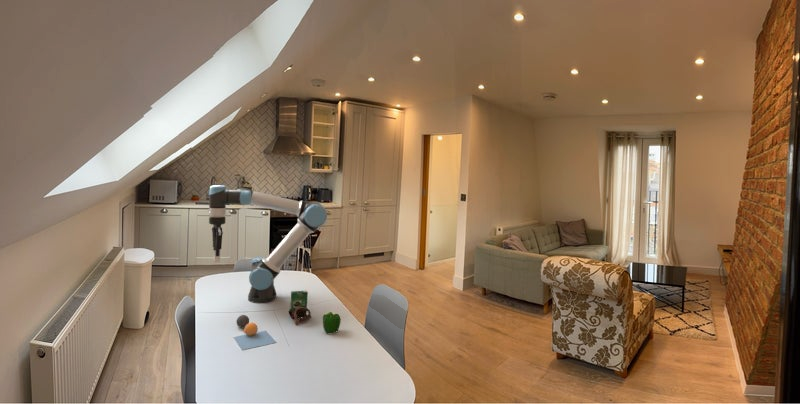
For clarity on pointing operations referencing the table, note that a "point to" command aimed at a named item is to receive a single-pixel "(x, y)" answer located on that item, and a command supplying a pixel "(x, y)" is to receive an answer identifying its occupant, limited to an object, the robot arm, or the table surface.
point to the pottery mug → (300, 315)
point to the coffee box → (298, 299)
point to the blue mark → (254, 340)
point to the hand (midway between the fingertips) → (216, 262)
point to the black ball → (242, 320)
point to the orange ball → (251, 329)
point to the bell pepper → (331, 322)
